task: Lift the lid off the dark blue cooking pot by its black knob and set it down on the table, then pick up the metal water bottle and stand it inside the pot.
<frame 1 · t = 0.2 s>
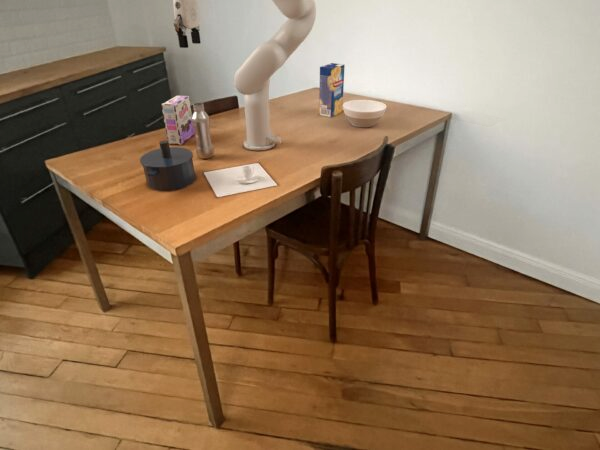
hand: (190, 45, 148), 37 cm above the table, tool pointing down, fingers open, 9 cm apart
candy box: (182, 139, 170), on the table
blue cardboard box: (330, 113, 198), on the table
pan lid: (167, 158, 132), point 8 cm above the table, touching dark blue cooking pot
metal water bottle: (206, 157, 153), on the table
dark blue cooking pot: (171, 180, 136), on the table
bowl: (363, 124, 184), on the table
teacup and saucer: (239, 179, 137), on the table
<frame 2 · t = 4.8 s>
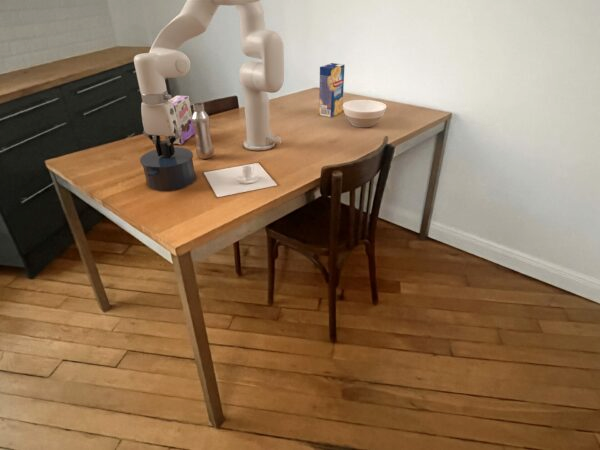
hand: (166, 154, 131), 9 cm above the table, tool pointing down, fingers closed on pan lid, 2 cm apart
pan lid: (167, 158, 132), point 8 cm above the table, touching gripper, dark blue cooking pot
everything else where it was.
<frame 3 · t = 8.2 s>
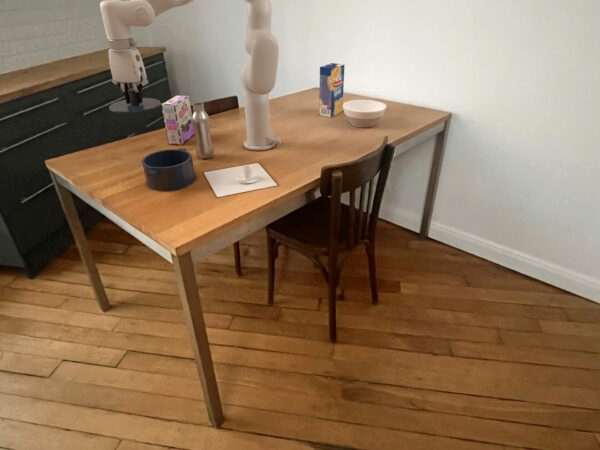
hand: (134, 102, 138), 22 cm above the table, tool pointing down, fingers closed on pan lid, 2 cm apart
pan lid: (135, 106, 138), point 21 cm above the table, touching gripper
everything else where it was.
when the fingers open (2 cm above the table, at t = 12.1 s): pan lid stays where it is, point 1 cm above the table.
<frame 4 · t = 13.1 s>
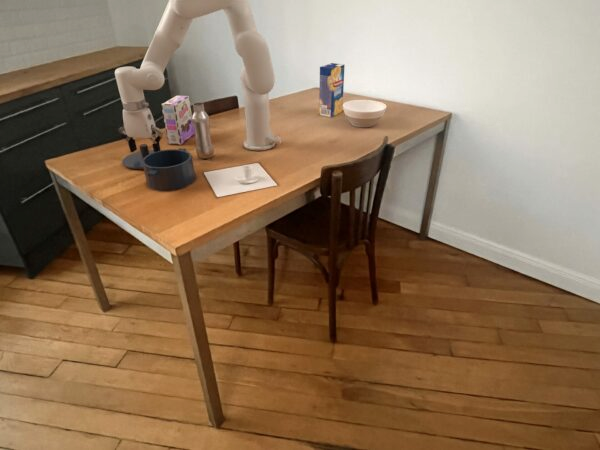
hand: (145, 152, 149), 4 cm above the table, tool pointing down, fingers open, 9 cm apart
pan lid: (146, 159, 150), point 1 cm above the table
everything else where it was.
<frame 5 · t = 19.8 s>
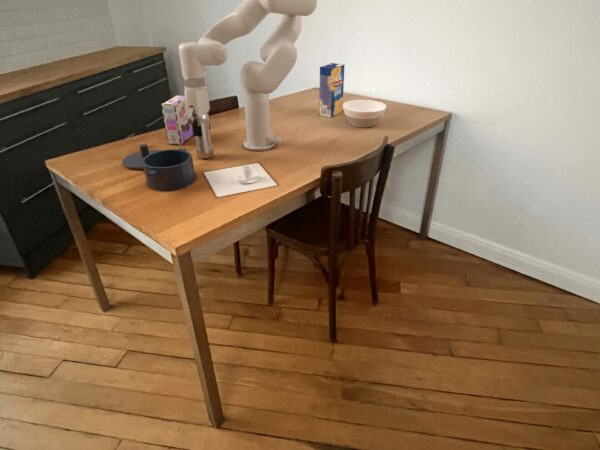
hand: (202, 132, 148), 10 cm above the table, tool pointing down, fingers closed on metal water bottle, 6 cm apart
metal water bottle: (205, 157, 153), on the table, touching gripper
everything else where it was.
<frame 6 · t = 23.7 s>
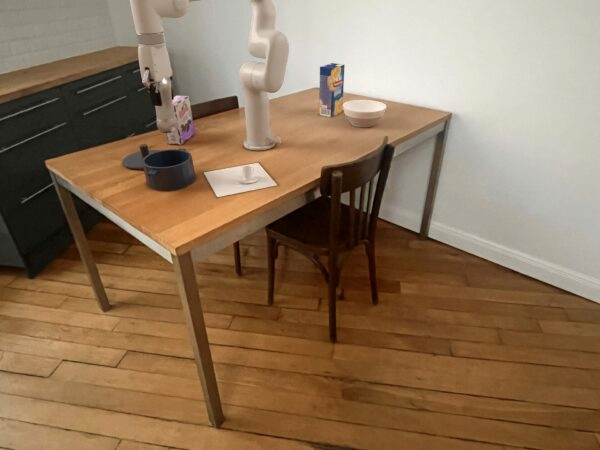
hand: (163, 102, 125), 25 cm above the table, tool pointing down, fingers closed on metal water bottle, 6 cm apart
metal water bottle: (169, 132, 131), point 16 cm above the table, touching gripper
everything else where it was.
when the fingers open (10 cm above the table, at t = 27.8 s): metal water bottle stays where it is, resting on dark blue cooking pot.
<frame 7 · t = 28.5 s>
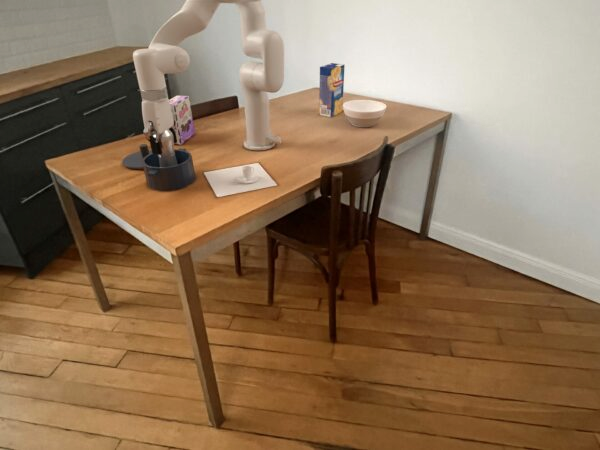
hand: (165, 148, 130), 11 cm above the table, tool pointing down, fingers open, 9 cm apart
metal water bottle: (171, 179, 136), resting on dark blue cooking pot
everything else where it was.
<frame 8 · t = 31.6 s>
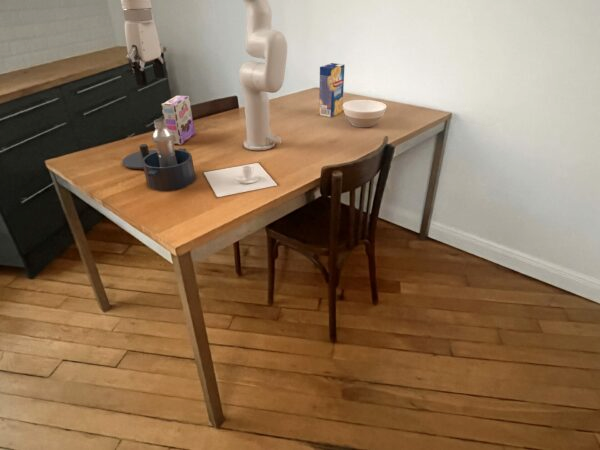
hand: (151, 81, 119), 32 cm above the table, tool pointing down, fingers open, 9 cm apart
nothing on the table moved.
at the end: pan lid inside the target area (0.1 cm from its centre), point 0.6 cm above the table; metal water bottle inside the target area in the dark blue cooking pot (0.1 cm from its centre), point 0.3 cm above the dark blue cooking pot's base; metal water bottle tilted 0° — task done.
